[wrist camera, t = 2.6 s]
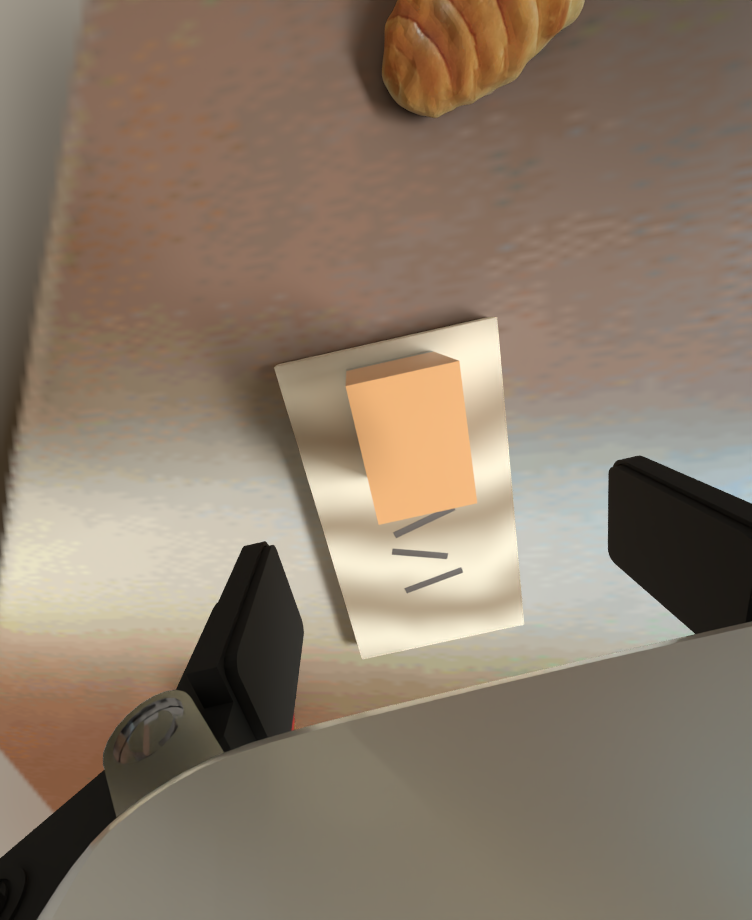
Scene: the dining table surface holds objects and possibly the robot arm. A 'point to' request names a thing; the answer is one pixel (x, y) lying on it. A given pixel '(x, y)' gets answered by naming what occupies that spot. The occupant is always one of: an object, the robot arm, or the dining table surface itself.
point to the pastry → (464, 47)
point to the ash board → (423, 537)
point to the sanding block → (413, 434)
